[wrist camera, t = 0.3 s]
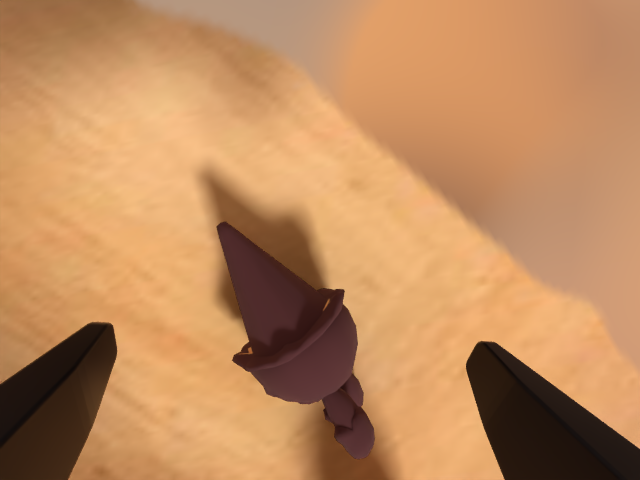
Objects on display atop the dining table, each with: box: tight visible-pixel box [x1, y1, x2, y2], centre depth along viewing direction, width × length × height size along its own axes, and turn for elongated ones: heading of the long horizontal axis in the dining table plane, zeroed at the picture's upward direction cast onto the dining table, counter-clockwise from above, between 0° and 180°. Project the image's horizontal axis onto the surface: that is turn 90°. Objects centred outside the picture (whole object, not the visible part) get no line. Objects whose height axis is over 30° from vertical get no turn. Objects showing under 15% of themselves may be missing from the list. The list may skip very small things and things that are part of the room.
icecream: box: [217, 222, 375, 459], centre depth 20 cm, size 7×7×15 cm
